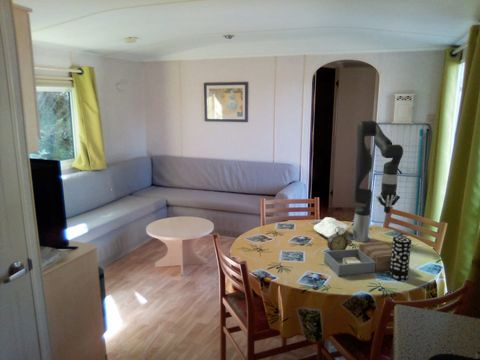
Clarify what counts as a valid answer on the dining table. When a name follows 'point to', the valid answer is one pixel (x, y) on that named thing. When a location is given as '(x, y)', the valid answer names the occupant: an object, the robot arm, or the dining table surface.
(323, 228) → the crumpled cloth
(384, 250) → the block
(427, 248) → the dining table surface
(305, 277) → the dining table surface
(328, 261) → the box
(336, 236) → the alarm clock
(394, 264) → the white-spotted black cylinder
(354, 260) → the wooden tile
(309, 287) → the dining table surface
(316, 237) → the dining table surface
